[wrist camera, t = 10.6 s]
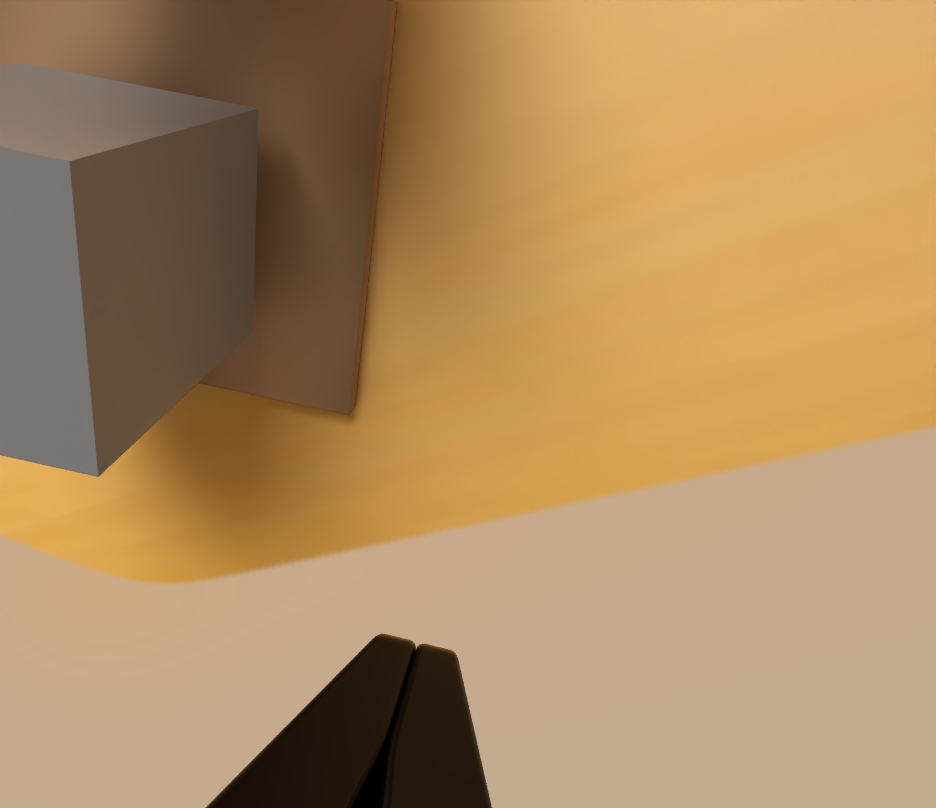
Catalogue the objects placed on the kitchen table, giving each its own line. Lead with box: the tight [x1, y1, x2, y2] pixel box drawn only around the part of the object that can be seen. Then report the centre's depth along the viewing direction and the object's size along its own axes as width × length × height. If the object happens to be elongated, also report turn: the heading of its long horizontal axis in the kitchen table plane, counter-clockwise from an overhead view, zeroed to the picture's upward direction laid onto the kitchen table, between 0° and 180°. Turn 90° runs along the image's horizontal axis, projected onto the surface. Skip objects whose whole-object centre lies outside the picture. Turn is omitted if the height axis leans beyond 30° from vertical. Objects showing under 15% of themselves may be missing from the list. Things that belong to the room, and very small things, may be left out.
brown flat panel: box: [0, 0, 397, 415], centre depth 15 cm, size 10×10×8 cm
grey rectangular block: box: [0, 63, 259, 477], centre depth 14 cm, size 5×5×7 cm
